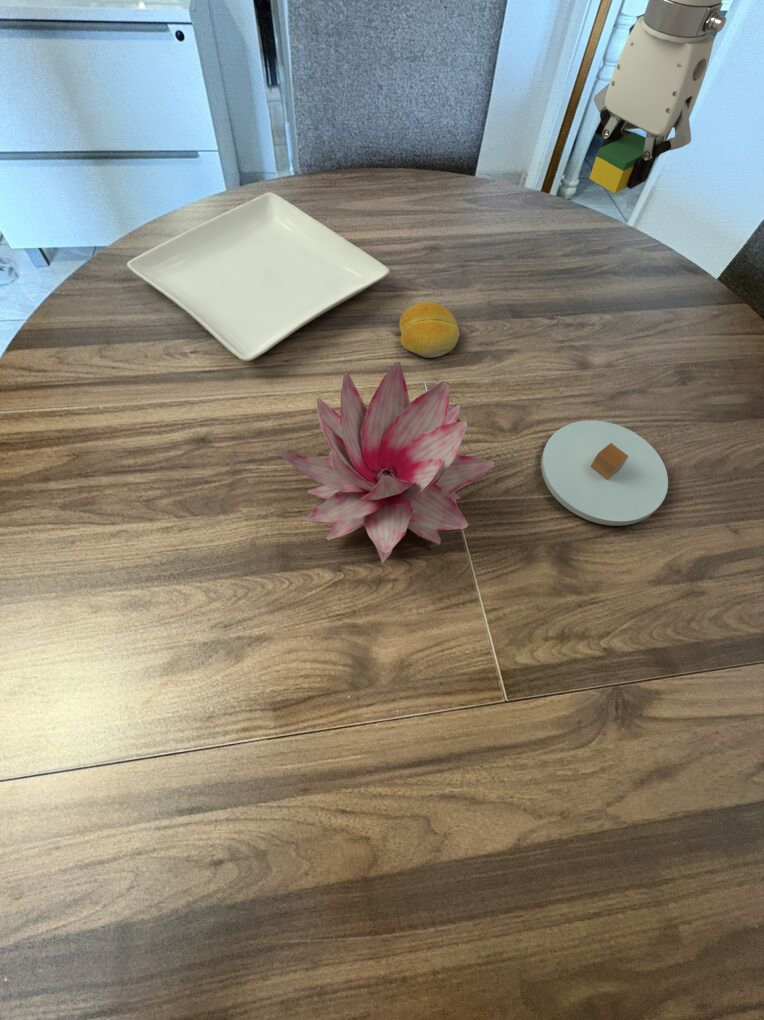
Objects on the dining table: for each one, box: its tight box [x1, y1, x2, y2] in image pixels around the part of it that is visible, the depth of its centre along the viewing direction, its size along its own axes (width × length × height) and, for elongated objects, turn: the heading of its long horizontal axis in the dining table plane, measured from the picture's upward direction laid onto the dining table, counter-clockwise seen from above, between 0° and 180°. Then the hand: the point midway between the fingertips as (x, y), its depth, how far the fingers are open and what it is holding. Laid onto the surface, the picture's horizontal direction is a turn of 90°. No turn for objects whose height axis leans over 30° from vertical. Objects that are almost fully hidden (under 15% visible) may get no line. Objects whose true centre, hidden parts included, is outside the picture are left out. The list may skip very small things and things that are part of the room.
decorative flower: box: [279, 361, 495, 564], centre depth 65 cm, size 21×21×15 cm
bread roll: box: [398, 301, 460, 359], centre depth 85 cm, size 8×9×4 cm
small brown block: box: [590, 443, 629, 480], centre depth 72 cm, size 3×3×3 cm
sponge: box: [589, 131, 646, 194], centre depth 83 cm, size 8×4×4 cm, turn 130°
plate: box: [540, 419, 669, 527], centre depth 74 cm, size 15×15×2 cm
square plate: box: [125, 192, 391, 362], centre depth 89 cm, size 27×27×4 cm
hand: (619, 174), depth 84 cm, fingers closed on sponge, 4 cm apart
